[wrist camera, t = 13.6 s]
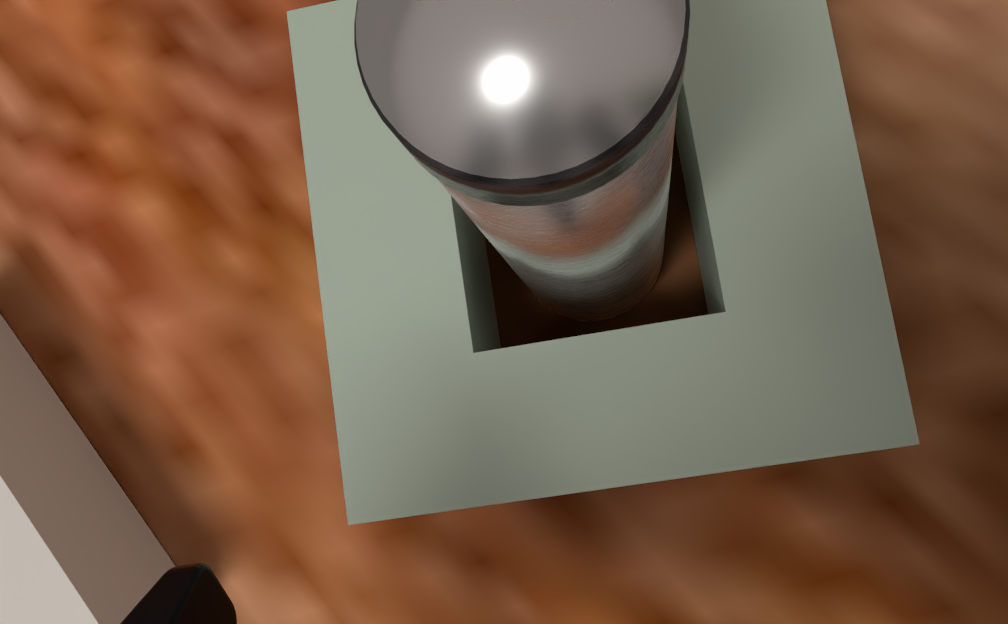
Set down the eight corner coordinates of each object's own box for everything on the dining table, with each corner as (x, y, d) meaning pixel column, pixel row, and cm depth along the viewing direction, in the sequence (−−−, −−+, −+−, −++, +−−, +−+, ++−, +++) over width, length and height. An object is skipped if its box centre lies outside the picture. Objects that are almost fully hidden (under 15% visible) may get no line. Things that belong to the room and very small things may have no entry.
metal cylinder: (695, 264, 22) (763, 37, 9) (573, 353, 22) (475, 250, 9) (606, 149, 23) (555, -211, 10) (488, 236, 23) (289, -7, 10)
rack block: (868, 441, 21) (920, 444, 17) (400, 508, 22) (347, 524, 18) (776, -10, 23) (804, -102, 19) (345, 80, 24) (286, 11, 20)
